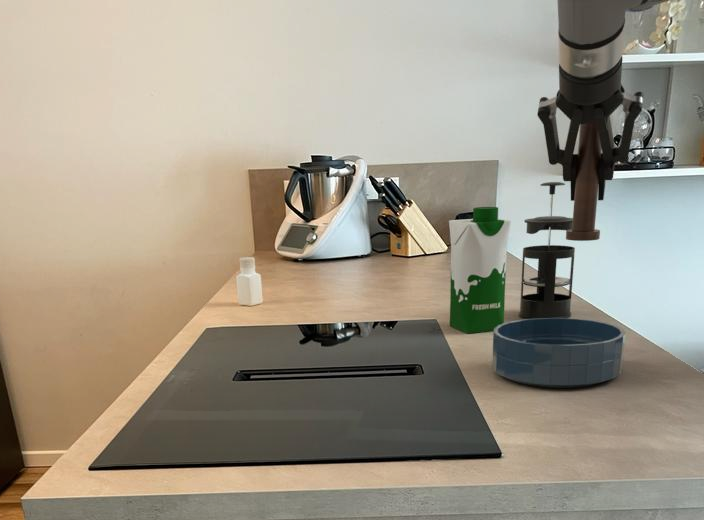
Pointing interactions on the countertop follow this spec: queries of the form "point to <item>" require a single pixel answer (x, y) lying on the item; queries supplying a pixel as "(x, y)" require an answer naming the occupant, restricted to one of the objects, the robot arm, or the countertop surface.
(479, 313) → the milk carton
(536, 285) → the french press
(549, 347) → the bowl
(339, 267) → the countertop surface
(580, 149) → the brown wooden cylinder
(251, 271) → the pepper shaker
